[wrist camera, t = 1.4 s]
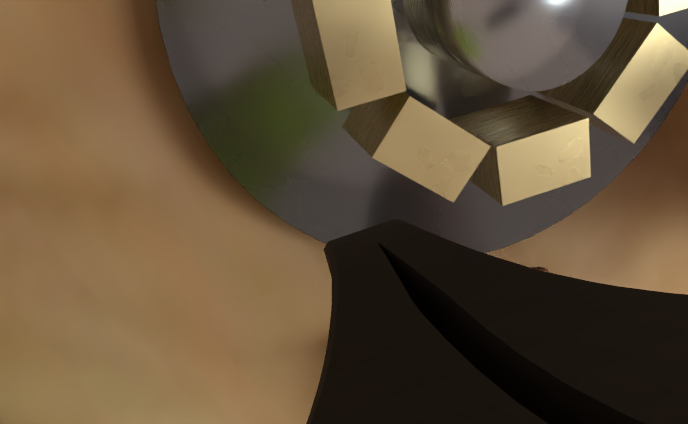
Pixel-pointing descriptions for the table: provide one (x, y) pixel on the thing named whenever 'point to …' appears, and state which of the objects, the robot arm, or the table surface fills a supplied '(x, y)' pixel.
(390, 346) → the robot arm
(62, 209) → the table surface
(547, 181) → the gear with bar handle
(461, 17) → the grey round disc
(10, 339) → the table surface
